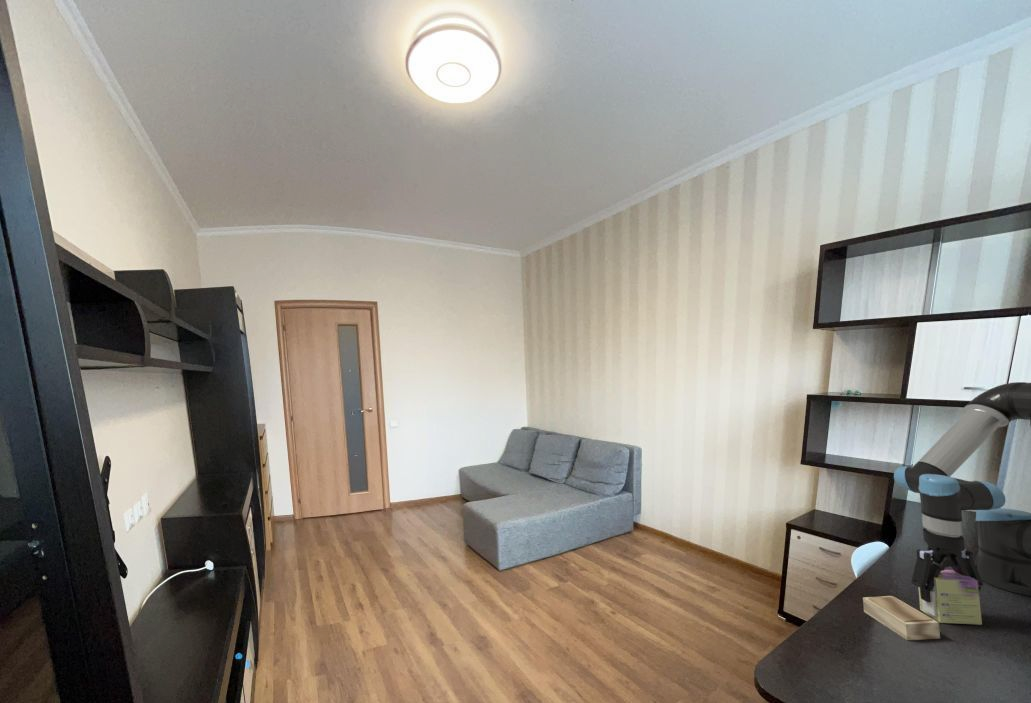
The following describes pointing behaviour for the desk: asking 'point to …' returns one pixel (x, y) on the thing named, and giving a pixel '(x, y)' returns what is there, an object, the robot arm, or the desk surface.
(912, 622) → the wooden tray
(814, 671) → the desk surface
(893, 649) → the desk surface
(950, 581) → the box
